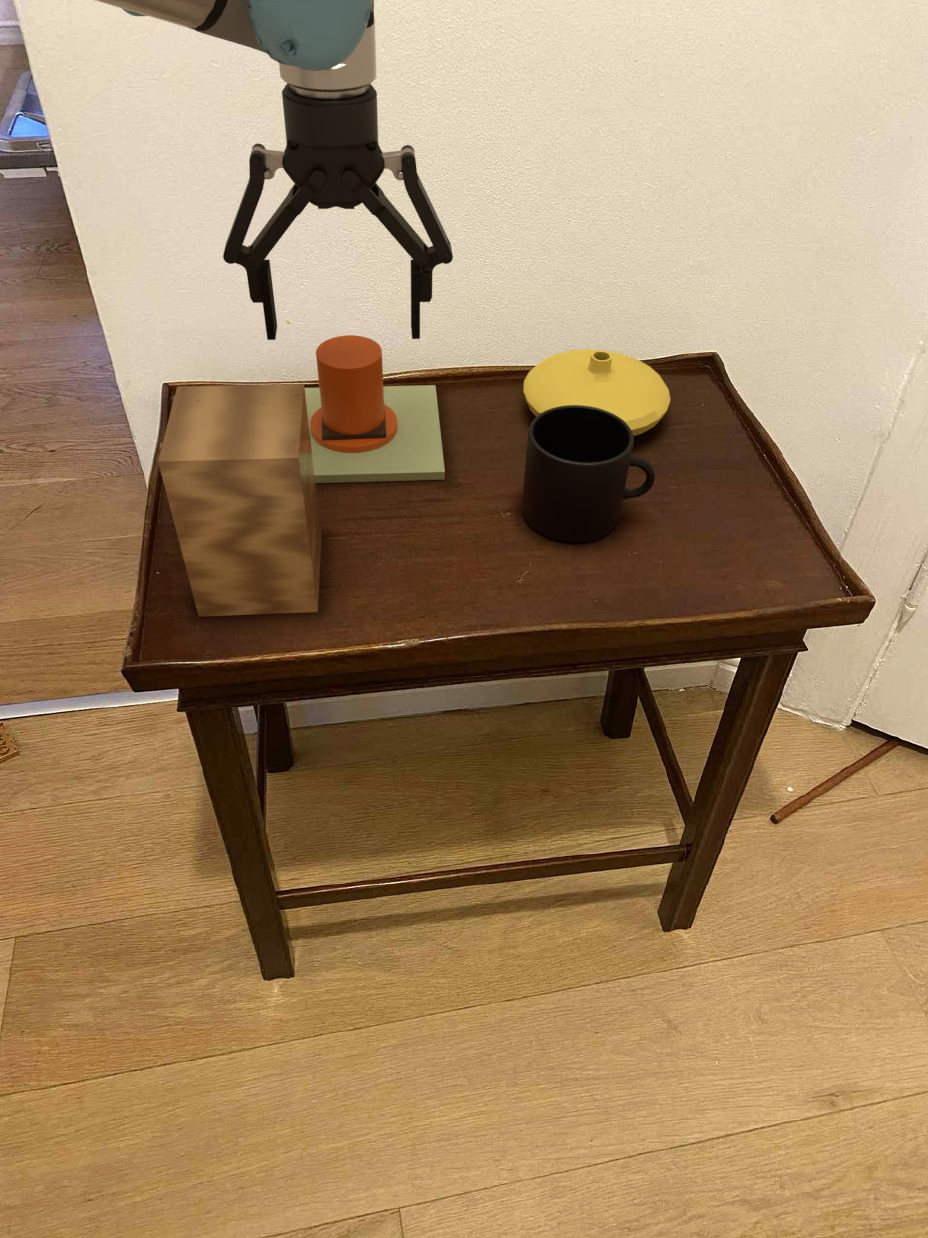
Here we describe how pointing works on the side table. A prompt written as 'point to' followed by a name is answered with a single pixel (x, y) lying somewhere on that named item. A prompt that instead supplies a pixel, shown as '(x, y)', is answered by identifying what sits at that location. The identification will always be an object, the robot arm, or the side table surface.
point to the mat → (399, 459)
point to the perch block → (244, 498)
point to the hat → (352, 396)
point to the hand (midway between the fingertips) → (344, 332)
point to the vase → (599, 386)
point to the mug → (579, 472)
